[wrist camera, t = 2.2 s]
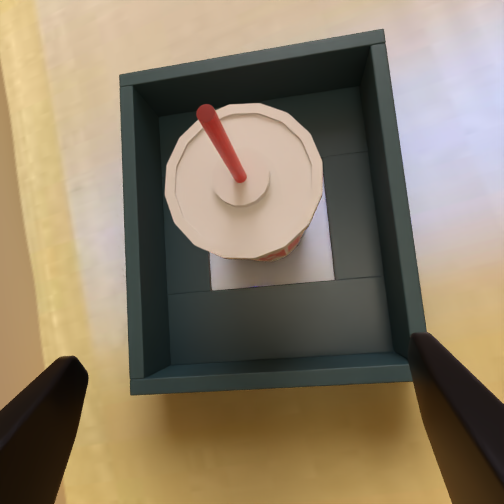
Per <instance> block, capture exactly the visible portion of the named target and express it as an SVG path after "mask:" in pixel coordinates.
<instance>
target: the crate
mask: <svg viewBox="0 0 504 504" xmlns="http://www.w3.org/2000/svg"><path fill="white" fill-rule="evenodd" d="M385 42H386V41H385V34H384V29H379V30H373V31H368V32H362V33H356V34H350V35H345V36H339V37H333V38H327V39H322V40H316V41H310V42H304V43H299V44H293V45H287V46H281V47H276V48H270V49H264V50H258V51H253V52H247V53H241V54H235V55H230V56H224V57H218V58H212V59H207V60H201V61H195V62H189V63H184V64H178V65H172V66H166V67H161V68H155V69H149V70H143V71H137V72H132V73H126V74H120V75H119V80H120V112H121V141H122V170H123V199H124V228H125V257H126V286H127V315H128V344H129V373H130V379H131V380H130V395H152V394H172V393H192V392H212V391H232V390H253V389H273V388H293V387H313V386H333V385H353V384H373V383H394V382H413V379H412V375H411V371H410V367H409V363H408V347H409V341H410V336H411V334H412V333H420V332H427V330H426V323H425V316H424V309H423V302H422V295H421V288H420V281H419V274H418V267H417V260H416V253H415V246H414V239H413V232H412V225H411V218H410V211H409V204H408V197H407V190H406V183H405V176H404V169H403V162H402V155H401V148H400V141H399V134H398V127H397V120H396V113H395V106H394V99H393V92H392V85H391V77H390V70H389V63H388V56H387V49H386V44H385ZM250 103H261V104H264V105H267V106H269V107H272V108H275V109H278V110H281V111H283V112H286V113H289V114H290V115H291V116H292V117H293V118H294V119H295V120H296V121H297V122H298V123H299V124H300V125H302V126H303V127H304V128H305V129H306V130H307V131H308V132H309V133H310V134H311V136H312V139H313V141H314V143H315V146H316V148H317V150H318V152H319V155H320V157H321V159H322V162H323V175H324V184H325V193H326V202H327V211H328V220H329V229H330V238H331V247H332V255H333V264H334V273H335V280H332V281H320V282H309V283H297V284H286V285H274V286H263V287H251V288H240V289H228V290H217V291H211V276H210V261H209V251H207V250H204V249H202V248H200V247H198V246H195V245H194V244H193V243H192V242H191V241H190V240H189V238H188V237H187V236H186V235H185V234H184V233H183V232H182V231H181V230H180V229H179V227H178V226H177V225H176V224H175V223H174V221H173V218H172V215H171V212H170V209H169V206H168V203H167V200H166V197H165V182H166V166H167V163H168V161H169V159H170V157H171V155H172V152H173V150H174V148H175V146H176V144H177V142H178V140H179V138H180V137H181V136H182V135H183V134H184V133H185V132H186V131H187V130H188V129H189V128H190V127H191V126H192V125H193V124H194V123H195V122H196V121H197V120H198V118H197V116H196V113H197V110H198V108H199V107H200V106H201V105H204V104H209V105H212V106H213V107H214V109H215V110H218V109H220V108H222V107H225V106H227V105H229V104H250Z"/></svg>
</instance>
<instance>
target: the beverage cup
mask: <svg viewBox="0 0 504 504" xmlns="http://www.w3.org/2000/svg"><path fill="white" fill-rule="evenodd" d="M196 116H197V118H198V120H197V121H196V122H195V123H194V124H193V125H192V126H191V127H190V128H189V129H188V130H187V131H186V132H185V133H184V134H183V135H182V136H181V137H180V138H179V140H178V142H177V144H176V146H175V148H174V150H173V152H172V155H171V157H170V159H169V161H168V163H167V166H166V182H165V197H166V200H167V203H168V206H169V209H170V212H171V215H172V218H173V221H174V223H175V224H176V225H177V226H178V227H179V229H180V230H181V231H182V232H183V233H184V234H185V235H186V236H187V237H188V238H189V240H190V241H191V242H192V243H193V244H194V245H195V246H198V247H200V248H202V249H204V250H207V251H209V252H211V253H213V254H215V255H218V256H220V257H222V258H226V259H248V260H255V261H268V262H273V261H276V260H278V259H281V258H283V257H286V256H288V255H289V254H290V253H291V252H292V251H293V250H294V249H295V248H296V247H297V246H298V244H299V241H300V239H301V237H302V235H303V232H304V231H305V230H306V229H307V228H308V227H309V224H310V222H311V220H312V218H313V215H314V213H315V211H316V209H317V206H318V204H319V202H320V200H321V197H322V170H323V162H322V159H321V157H320V155H319V152H318V150H317V148H316V146H315V143H314V141H313V139H312V136H311V134H310V133H309V132H308V131H307V130H306V129H305V128H304V127H303V126H302V125H300V124H299V123H298V122H297V121H296V120H295V119H294V118H293V117H292V116H291V115H290V114H289V113H286V112H283V111H281V110H278V109H275V108H272V107H269V106H267V105H264V104H261V103H250V104H229V105H227V106H225V107H222V108H220V109H218V110H215V109H214V107H213V106H212V105H209V104H204V105H201V106H200V107H199V108H198V110H197V113H196Z"/></svg>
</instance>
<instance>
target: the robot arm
mask: <svg viewBox="0 0 504 504" xmlns="http://www.w3.org/2000/svg"><path fill="white" fill-rule="evenodd" d="M408 363H409V367H410V371H411V375H412V379H413V384H414V388H415V392H416V396H417V400H418V404H419V408H420V413H421V416H422V420H423V423H424V426H425V430H426V432H427V435H428V438H429V441H430V443H431V446H432V449H433V452H434V454H435V457H436V460H437V463H438V465H439V468H440V471H441V474H442V476H443V479H444V482H445V485H446V487H447V490H448V493H449V496H450V498H451V501H452V504H504V404H503V403H502V402H501V401H500V400H499V399H498V398H497V397H496V396H495V395H494V394H493V393H492V392H490V391H489V390H488V389H487V388H486V387H485V386H484V385H483V384H482V383H481V382H480V381H479V380H478V379H477V378H476V377H475V376H474V375H473V374H472V373H471V372H470V371H469V370H468V369H467V368H466V367H465V366H463V365H462V364H461V363H460V362H459V361H458V360H457V359H456V358H455V357H454V356H453V355H452V354H451V353H450V352H449V351H448V350H447V349H446V348H445V347H444V346H443V345H442V344H441V343H440V342H439V341H438V340H437V339H435V338H434V337H433V336H432V335H431V334H430V333H428V332H420V333H412V334H411V336H410V341H409V347H408ZM87 385H88V373H87V371H86V369H85V368H84V367H83V365H82V364H81V363H80V361H79V360H78V358H77V357H75V356H63V357H59V358H58V359H57V360H55V361H54V362H53V363H52V364H51V365H50V366H49V367H48V368H47V369H46V370H44V371H43V372H42V373H41V374H40V375H39V376H38V377H37V378H36V379H35V380H33V381H32V382H31V383H30V384H29V385H28V386H27V387H26V388H25V389H24V390H23V391H21V392H20V393H19V394H18V395H17V396H16V397H15V398H14V399H13V400H12V401H10V402H9V403H8V404H7V405H6V406H5V407H4V408H3V409H2V410H1V411H0V504H54V503H55V500H56V496H57V493H58V490H59V487H60V484H61V481H62V478H63V475H64V472H65V469H66V466H67V462H68V459H69V456H70V453H71V450H72V447H73V444H74V441H75V437H76V434H77V430H78V426H79V421H80V417H81V412H82V408H83V403H84V398H85V394H86V389H87Z"/></svg>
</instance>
